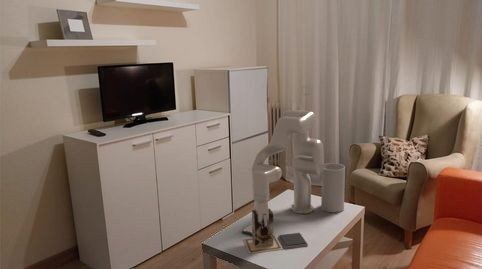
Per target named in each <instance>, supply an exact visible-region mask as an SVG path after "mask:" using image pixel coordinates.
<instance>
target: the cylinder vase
mask: <svg viewBox="0 0 482 269" xmlns="http://www.w3.org/2000/svg"><path fill="white" fill-rule="evenodd" d="M345 182H346V166H345V165H344V164H342V163H337V162H329V163H328V162H327V163H324V170H323V173H322V174H321V198H320V199H321V209H322V210H323V211H325V212H328V213H340V212H342V211H344V209H345V189H346V188H345V185H346V184H345Z"/></svg>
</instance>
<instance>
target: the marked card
mask: <svg viewBox="0 0 482 269" xmlns="http://www.w3.org/2000/svg"><path fill="white" fill-rule="evenodd" d="M243 242H244V244H245V247H246V249H247V252H248V254H249V255H251V254H258V253H267V252H273V251H279V250H280V251H281V250H284V249H283V248H284V247H283V245H282V243H281V242H280V240H279V238H278V237H277V236H276V234H275V235H274V234H273V242H274V245H271V246H262V247H255V246H254V244H253V242H252V237H251V238H244V239H243Z"/></svg>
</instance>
